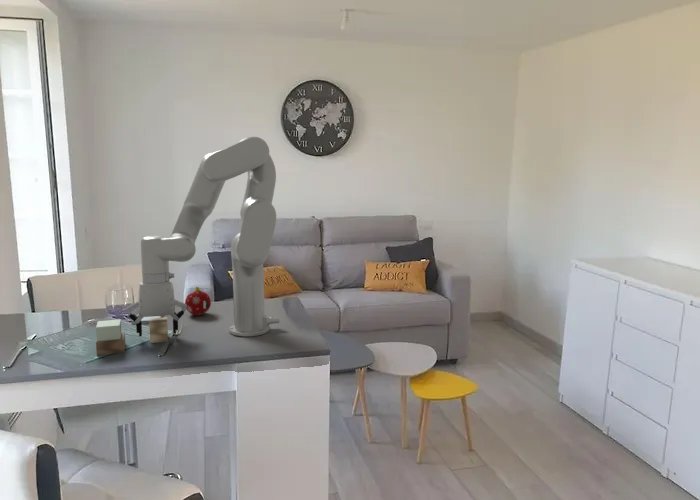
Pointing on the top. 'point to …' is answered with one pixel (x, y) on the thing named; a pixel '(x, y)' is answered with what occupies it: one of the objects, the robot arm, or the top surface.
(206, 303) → the christmas ornament
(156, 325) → the oak block
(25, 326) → the top surface
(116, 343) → the tower bottom
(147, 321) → the hard drive
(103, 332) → the tower top
